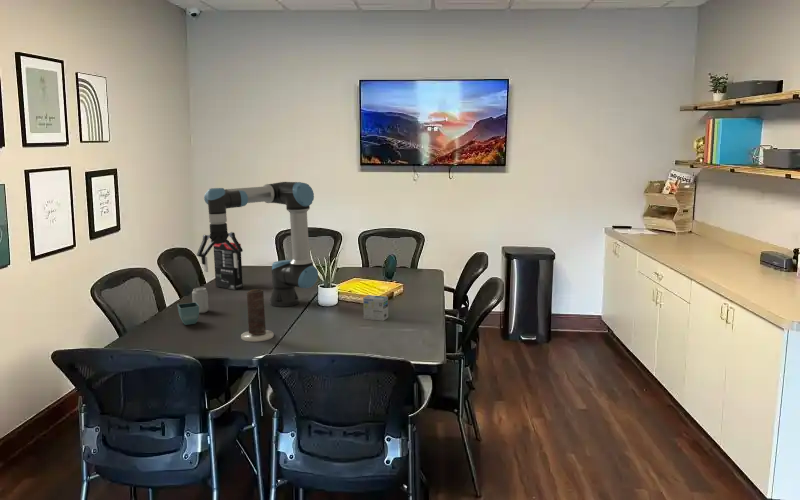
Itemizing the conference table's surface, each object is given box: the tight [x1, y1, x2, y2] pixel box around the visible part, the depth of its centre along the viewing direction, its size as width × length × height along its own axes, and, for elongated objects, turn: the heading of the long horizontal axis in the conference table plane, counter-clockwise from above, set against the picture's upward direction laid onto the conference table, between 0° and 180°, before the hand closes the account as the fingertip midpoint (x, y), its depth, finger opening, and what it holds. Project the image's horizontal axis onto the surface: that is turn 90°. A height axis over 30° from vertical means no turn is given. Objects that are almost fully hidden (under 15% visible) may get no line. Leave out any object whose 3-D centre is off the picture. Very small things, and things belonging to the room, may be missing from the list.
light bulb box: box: [362, 294, 389, 322], centre depth 316 cm, size 11×7×11 cm, turn 71°
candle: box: [246, 288, 267, 335], centre depth 286 cm, size 8×7×20 cm
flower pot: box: [176, 301, 200, 326], centre depth 309 cm, size 9×9×9 cm
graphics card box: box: [213, 241, 244, 291], centre depth 383 cm, size 17×7×27 cm, turn 58°
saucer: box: [240, 329, 275, 343], centre depth 288 cm, size 14×14×1 cm
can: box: [191, 287, 209, 314], centre depth 331 cm, size 8×8×12 cm
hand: (221, 269), depth 295 cm, fingers open, 13 cm apart
